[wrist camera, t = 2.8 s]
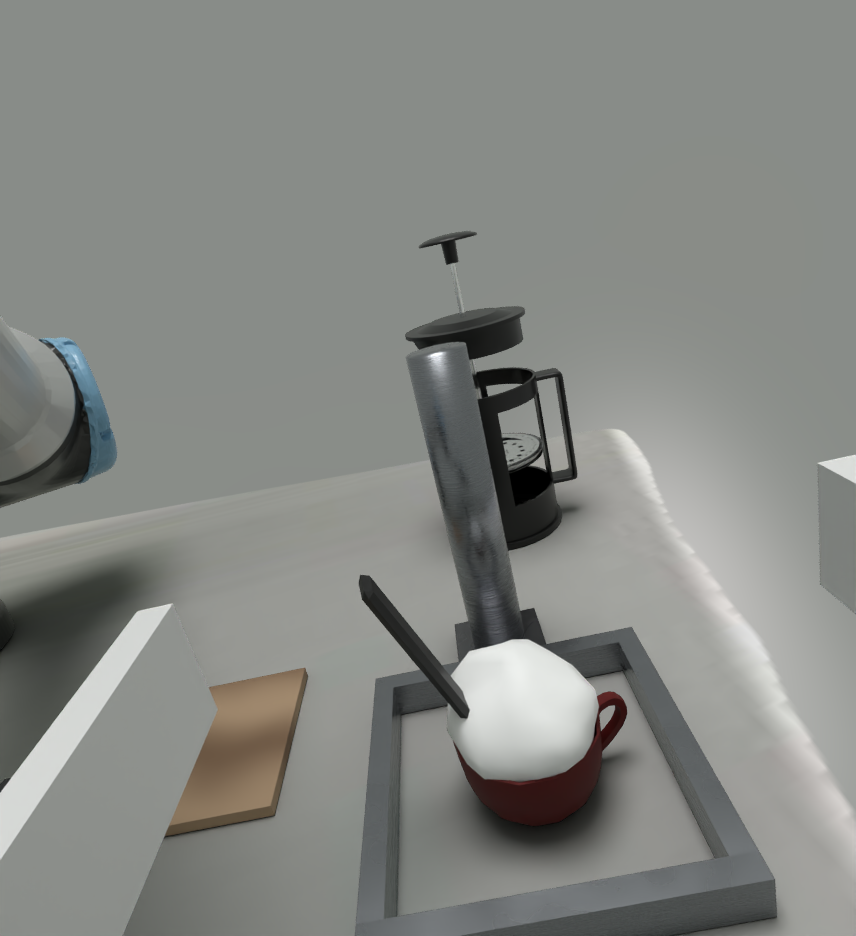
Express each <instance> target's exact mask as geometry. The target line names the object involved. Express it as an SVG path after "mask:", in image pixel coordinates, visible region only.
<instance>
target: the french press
mask: <svg viewBox="0 0 856 936" xmlns="http://www.w3.org/2000/svg"><path fill="white" fill-rule="evenodd" d="M474 235H477V233H476V232H471V231H464V232H456V233H451V234H447V235H443V236H439V237H436V238H433V239H430V240H428V241H426V242H424V243H422V244H421V245H420V246H419V248H424V247H429V246H433V245H437V244H441V246H442V249H443V254H444V258H445V261H446V264H450V266H451V271H452V277H453V282H454V287H455V291H456V296H457V302H458V306H459V311H460V313H458V314H454V315H450V316H447V317H443V318H440V319H438V320H435V321H433V322H431V323H428V324H425V325H422V326H420V327H417V328H415V329H413V330H411V331H409V332H407V333H406V334H405V337H406V340H408V341H413V342H414V343H415V345H416V346H417V348H418V349H419V350H420V349H423V348H427V347H430V346H434V345H439V344H444V343H451V342H464V343H466V347H467V352H468V357H469V361H470V366H471V371H472V376H473V381H474V386H475V391H476V396H477V401H478V406H479V411H480V416H481V421H482V426H483V431H484V435H485V440H486V445H487V450H488V455H489V460H490V465H491V470H492V475H493V480H494V485H495V490H496V495H497V500H498V504H499V509H500V514H501V519H502V524H503V529H504V534H505V539H506V544H507V549H508V550H510V549H515V548H519V547H523V546H526V545H528V544H531V543H534V542H536V541H538V540H540V539H542V538H544V537H546V536H547V535H549V534H550V533H552V532H553V531H554V530H555V529H556V528H557V526H558V525H559V523H560V522H561V516H562V513H561V509H560V506H559V505H558V504H557V501H556V495H555V489H554V484H555V483H559V482H564V481H569V480H573V479H576V478H577V467H576V461H575V454H574V448H573V441H572V435H571V428H570V422H569V415H568V409H567V402H566V395H565V389H564V382H563V377H562V374H561V372H560V371H558V370H557V369H556V368H552V369H547V370H543V371H538V372H534V371H532V370H530V369H527V368H499V369H491V370H484V371H479V372H477V371H476V366H475V362H474V359H476V358H481V357H484V356H488V355H492V354H495V353H498V352H501V351H504V350H507V349H509V348H511V347H514V346H515V345H517V344H519V343H520V342H522V340H523V335H522V329H521V324H520V317H522V316H523V315H524V314H525V310H524V308H523V307H515V306H514V307H500V308H484V309H477V310H472V311H466V312H465V311H464V306H463V301H462V296H461V291H460V286H459V282H458V276H457V271H456V266H455V263H456V262H458V256H457V249H456V243H455V240H458V239H462V238H466V237H470V236H474ZM553 377H555V381H556V388H557V394H558V401H559V407H560V414H561V420H562V426H563V433H564V439H565V445H566V452H567V458H568V465H569V468H568V469H566V470H561V471H556V472H552V471H551V465H550V459H549V453H548V447H547V441H546V435H545V429H544V423H543V417H542V411H541V405H540V400H539V393H538V387H537V381H539V380H543V379H548V378H553ZM498 384H522V385H520V386H518V387H516V388H514V389H511V390H509V391H506V392H503V393H500V394H496V395H493V396H489V397H488V394H487V389H486V386H490V385H498ZM532 398H534V399H535V406H536V412H537V418H538V424H539V429H540V436H541V439H540V438H539V437H537V436H535V435H531V434H525V433H505V434H504V433H503V434H501V429H500V424H499V419H498V413H500V412H503V411H507V410H510V409H512V408H515V407H517V406H519V405H522V404H524V403H526V402H528V401H529V400H531V399H532ZM542 452H543V453H544V459H545V465H546V470H545V469H542V468H539V467H535V466H529V465H530V464H532V463H533V462H535V461H536V460H537V459H538V458H539V457H540V456H541V454H542ZM515 502H524V503H521V504H518V505H516V506H515Z"/></svg>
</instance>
